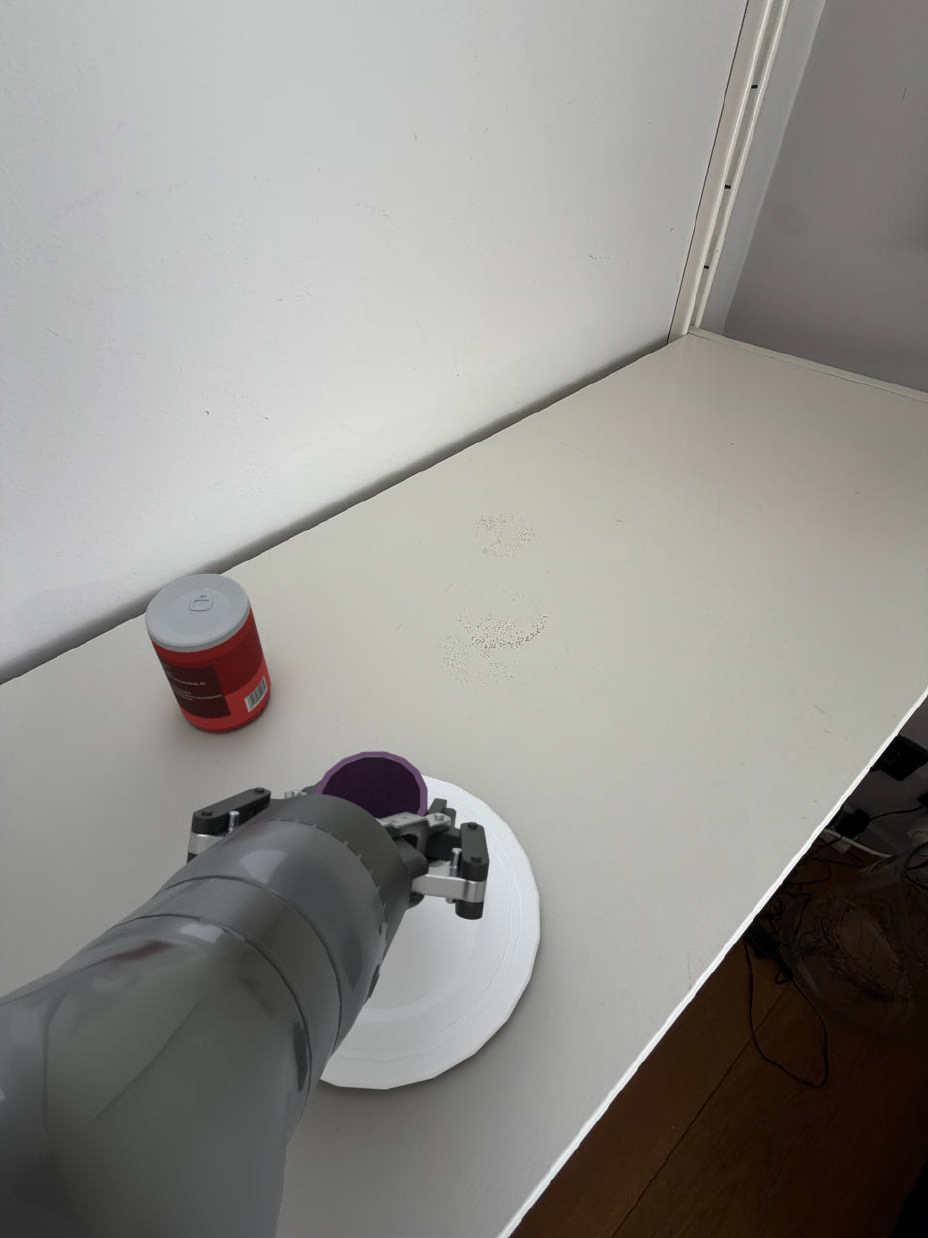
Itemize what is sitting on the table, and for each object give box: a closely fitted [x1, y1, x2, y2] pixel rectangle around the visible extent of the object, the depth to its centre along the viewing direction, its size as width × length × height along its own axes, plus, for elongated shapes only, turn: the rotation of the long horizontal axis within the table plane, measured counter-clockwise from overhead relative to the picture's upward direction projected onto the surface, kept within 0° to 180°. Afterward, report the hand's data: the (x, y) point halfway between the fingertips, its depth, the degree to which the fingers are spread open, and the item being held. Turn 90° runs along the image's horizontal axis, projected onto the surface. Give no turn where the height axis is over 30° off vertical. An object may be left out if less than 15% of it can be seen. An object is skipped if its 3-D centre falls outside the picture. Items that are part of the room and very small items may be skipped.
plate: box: [319, 774, 541, 1091], centre depth 48 cm, size 21×21×2 cm
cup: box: [315, 750, 428, 819], centre depth 40 cm, size 6×6×8 cm
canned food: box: [144, 573, 272, 733], centre depth 58 cm, size 8×8×11 cm
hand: (382, 806), depth 41 cm, fingers closed on cup, 6 cm apart
